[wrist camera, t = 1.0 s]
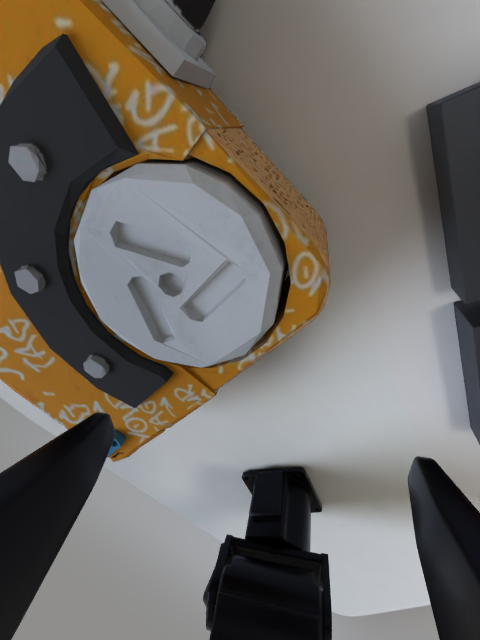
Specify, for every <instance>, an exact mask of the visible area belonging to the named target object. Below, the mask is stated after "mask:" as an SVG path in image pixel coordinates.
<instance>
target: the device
mask: <svg viewBox="0 0 480 640" xmlns="http://www.w3.org/2000/svg"><path fill="white" fill-rule="evenodd" d="M214 2H215V0H0V379H1V380H2V381H3V382H4V383H6V384H7V385H8V386H9V387H10V388H11V389H13V390H14V391H15V392H16V393H18V394H19V395H21V396H22V397H23V398H25V399H26V400H28V401H29V402H30V403H32V404H33V405H35V406H36V407H37V408H39V409H40V410H42V411H43V412H44V413H46V414H47V415H49V416H50V417H51V418H53V419H54V420H56V421H57V422H58V423H60V424H61V425H63V426H64V427H65V428H67V429H68V430H69V429H70V428H72V427H74V426H75V425H77V424H78V423H80V422H81V421H83V420H85V419H86V418H88V417H89V416H91V415H92V414H94V413H97V412H101V413H107V414H109V415H110V417H111V419H112V422H113V425H114V428H115V438H114V441H113V443H112V446H111V448H110V450H109V453H108V455H107V457H110V458H111V459H112V461H113V462H115V461H118V460H121V459H124V458H126V457H129V456H130V455H131V454H133V453H134V452H135V451H136V450H137V449H139V448H140V447H141V446H143V445H144V444H146V443H147V442H149V441H150V440H152V439H153V438H155V437H157V436H158V435H160V434H161V433H163V432H164V431H165V429H166V428H169V427H171V426H173V425H174V424H176V423H177V422H178V421H180V420H181V419H183V418H184V417H186V416H187V415H188V414H190V413H191V412H193V411H194V410H196V409H197V408H198V407H200V406H201V405H203V404H204V403H206V402H207V401H208V400H210V399H211V398H213V397H214V396H215V395H216V394H217V391H218V389H219V388H220V387H221V386H223V385H224V384H225V383H227V382H228V381H230V380H231V379H232V378H234V377H235V376H236V375H238V374H239V373H241V372H242V371H244V370H245V369H246V368H248V367H249V366H251V365H252V364H253V363H255V362H256V361H258V360H259V359H260V358H262V357H263V356H265V355H266V354H267V353H269V352H270V351H271V350H273V349H274V348H276V347H277V346H278V345H280V344H281V343H283V342H284V341H285V340H287V339H288V338H289V337H291V336H292V335H293V334H295V333H296V332H297V331H299V330H300V329H301V328H303V327H304V326H305V325H307V324H308V323H309V322H311V321H312V320H313V319H315V318H316V317H317V316H318V314H319V313H320V312H321V310H322V309H323V308H324V305H325V301H326V298H327V294H328V290H329V286H330V271H329V257H328V243H327V233H326V229H325V226H324V223H323V221H322V219H321V218H320V216H319V215H318V214H317V212H316V211H315V209H314V208H313V207H312V206H311V205H310V204H309V203H308V202H307V201H306V200H305V199H304V198H303V196H302V195H301V194H300V193H299V192H298V191H297V190H296V189H295V188H294V187H293V186H292V185H291V184H290V182H289V181H288V180H287V179H286V178H285V177H284V176H283V175H282V174H281V172H280V171H279V170H278V169H277V168H276V167H275V166H274V165H273V164H272V162H271V161H270V160H269V159H268V158H267V157H266V156H265V155H264V154H263V152H262V151H261V150H260V149H259V148H258V147H257V146H256V145H255V144H254V143H253V141H252V140H251V139H250V138H249V137H248V136H247V135H246V134H245V132H244V131H243V130H242V127H243V125H242V124H241V123H240V122H239V120H238V119H237V118H236V117H235V116H234V115H233V114H232V113H231V112H230V111H229V109H228V108H227V107H226V106H225V105H224V104H223V103H222V102H221V101H220V100H219V99H218V97H217V96H216V95H215V94H214V93H213V92H212V91H211V90H210V89H209V86H210V84H211V83H212V81H213V80H214V78H215V76H216V74H215V73H214V72H213V71H212V70H211V69H210V68H209V66H208V65H207V64H206V63H205V62H204V61H203V60H202V59H201V57H200V56H201V55H202V53H203V52H204V50H205V49H206V47H207V46H206V41H205V40H204V38H203V37H202V36H201V34H200V33H199V30H200V29H201V27H202V25H203V24H204V22H205V20H206V18H207V16H208V15H209V13H210V10H211V8H212V6H213V4H214ZM288 267H289V273H290V274H289V276H288V277H287V278H286V274H287V270H288ZM285 278H286V280H285Z"/></svg>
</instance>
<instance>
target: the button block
mask: <svg viewBox="0 0 480 640" xmlns="http://www.w3.org/2000/svg"><path fill="white" fill-rule="evenodd" d="M426 108H427V115H428V123H429V130H430V137H431V144H432V151H433V159H434V166H435V173H436V180H437V187H438V194H439V202H440V209H441V216H442V223H443V230H444V238H445V245H446V252H447V259H448V266H449V274H450V281H451V288H452V289H453V290H454V291H455V292H456V294H457V295H458V296H459V297H460V298H461V300H462V301H463V302H464V303H465V304H470V303H474V302H478V301H480V82H479V83H476V84H474V85H472V86H470V87H467V88H465V89H463V90H460V91H458V92H456V93H454V94H451V95H449V96H447V97H444V98H442V99H440V100H437V101H435V102H433V103H431V104H428V105H427V107H426Z"/></svg>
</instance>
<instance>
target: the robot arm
mask: <svg viewBox="0 0 480 640" xmlns="http://www.w3.org/2000/svg"><path fill="white" fill-rule="evenodd" d="M114 438H115V428H114V425H113V422H112V419H111V417H110V415H109V414H107V413H101V412H97V413H94V414H92V415H91V416H89V417H88V418H86V419H85V420H83V421H81V422H80V423H78V424H77V425H75V426H74V427H72V428H70V429H69V430H67V431H66V432H64V433H63V434H61V435H59V436H58V437H56V438H55V439H53V440H52V441H50V442H49V443H47V444H45V445H44V446H42V447H41V448H39V449H37V450H36V451H34V452H33V453H31V454H30V455H28V456H27V457H25V458H23V459H22V460H20V461H19V462H17V463H15V464H14V465H12V466H11V467H9V468H8V469H6V470H4V471H3V472H1V473H0V640H11V639H12V637H13V635H14V634H15V632H16V630H17V628H18V626H19V625H20V623H21V621H22V619H23V617H24V615H25V613H26V612H27V610H28V608H29V606H30V604H31V602H32V600H33V599H34V597H35V595H36V593H37V591H38V589H39V587H40V586H41V584H42V582H43V580H44V578H45V576H46V574H47V573H48V571H49V569H50V567H51V565H52V563H53V562H54V559H55V558H56V556H57V554H58V552H59V550H60V549H61V547H62V545H63V543H64V541H65V539H66V537H67V536H68V534H69V532H70V530H71V528H72V526H73V524H74V523H75V521H76V519H77V517H78V515H79V513H80V511H81V509H82V507H83V506H84V504H85V502H86V500H87V499H88V497H89V495H90V493H91V491H92V489H93V487H94V485H95V483H96V481H97V479H98V476H99V474H100V472H101V469H102V467H103V465H104V462H105V460H106V458H107V455H108V453H109V450H110V448H111V446H112V443H113V441H114ZM242 479H243V481H244V482H245V484H246V486H247V487H248V489H249V491H250V492H251V494H252V500H251V506H250V511H249V519H248V524H247V530H246V536H245V539H241V538H236V537H233V536H232V535H227V536H226V539H225V542H224V543H222V544H221V547H220V551H219V555H218V559H217V563H216V566H215V569H214V571H213V573H212V576H211V578H210V580H209V583H208V585H207V587H206V590H205V592H204V596H203V601H204V603H205V605H206V628H207V630H209V631H211V635H210V640H332V616H331V615H332V614H331V595H330V579H329V562H328V554H324V553H321V554H317V553H312V552H310V533H311V513H314V512H321V511H322V504H321V502H320V500H319V498H318V496H317V494H316V492H315V490H314V488H313V485H312V483H311V481H310V479H309V477H308V475H307V473H306V471H305V469H303V468H300V467H298V468H285V469H273V470H260V471H247V472H243V475H242ZM408 487H409V495H410V502H411V509H412V516H413V524H414V531H415V538H416V544H417V549H418V554H419V558H420V562H421V566H422V570H423V574H424V578H425V582H426V586H427V590H428V594H429V598H430V602H431V606H432V610H433V614H434V618H435V622H436V626H437V630H438V635H439V639H440V640H480V513H479V511H478V510H477V509H476V508H475V507H474V506H473V504H472V503H471V502H470V501H469V500H468V499H467V497H466V496H465V495H464V494H463V493H462V492H461V490H460V489H459V488H458V487H457V486H456V485H455V483H454V482H453V481H452V480H451V479H450V478H449V476H448V475H447V474H446V473H445V472H444V471H443V470H442V468H441V467H440V466H439V465H438V464H437V463H436V461H434V460H433V459H431V458H426V457H415V459H414V461H413V464H412V466H411V469H410V472H409V475H408Z"/></svg>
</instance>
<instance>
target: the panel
mask: <svg viewBox="0 0 480 640" xmlns="http://www.w3.org/2000/svg"><path fill="white" fill-rule="evenodd" d="M454 310H455V318H456V325H457V332H458V339H459V346H460V353H461V361H462V368H463V375H464V382H465V389H466V397H467V404H468V411H469V418H470V425H471V429H472V431H473V433H474V435H475V436H476V438H477V440H478V442H479V444H480V301H478V302H474V303H470V304H465V303H464V302H463V301H459V302H455V303H454Z"/></svg>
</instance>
